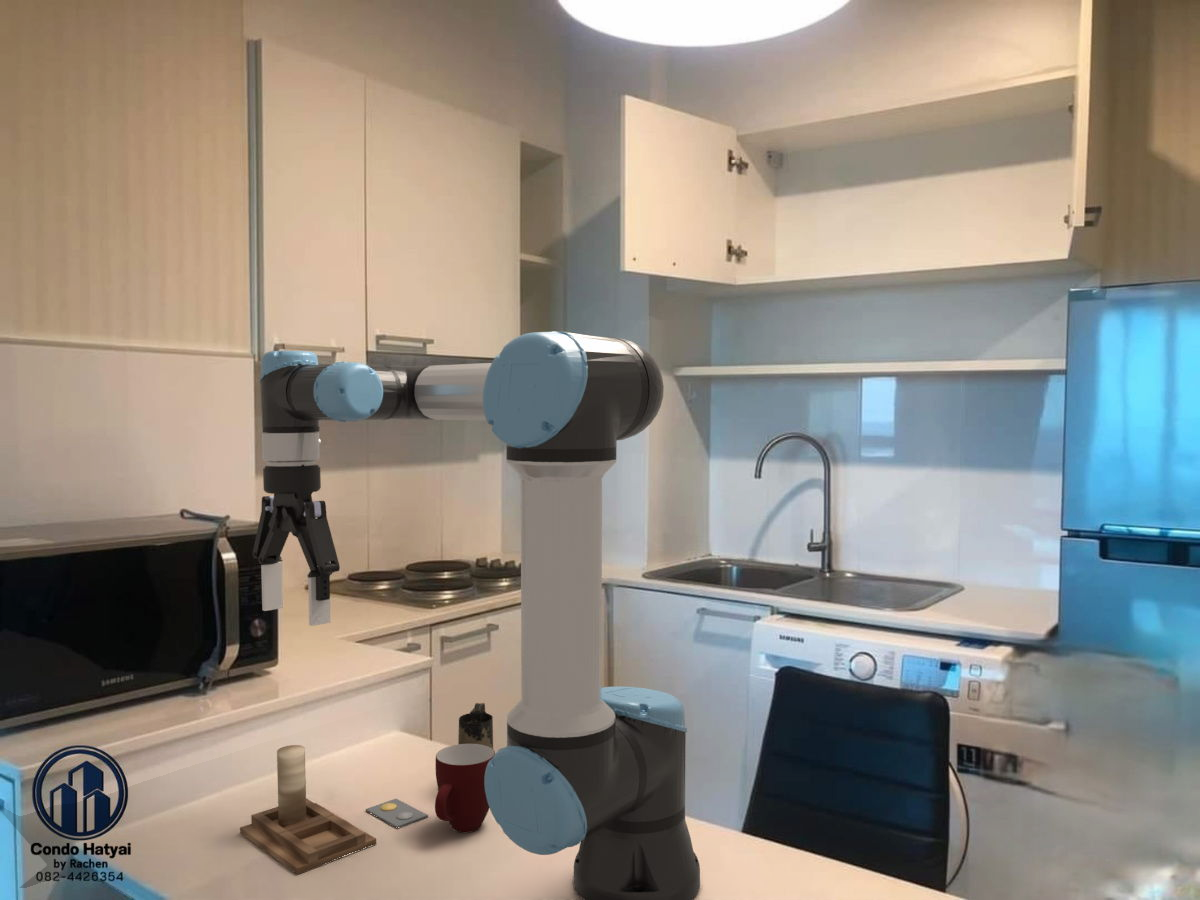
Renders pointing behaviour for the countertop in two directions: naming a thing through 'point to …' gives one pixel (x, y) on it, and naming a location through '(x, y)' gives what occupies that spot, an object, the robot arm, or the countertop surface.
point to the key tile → (397, 813)
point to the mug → (462, 785)
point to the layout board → (306, 837)
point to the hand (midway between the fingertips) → (295, 616)
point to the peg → (291, 785)
